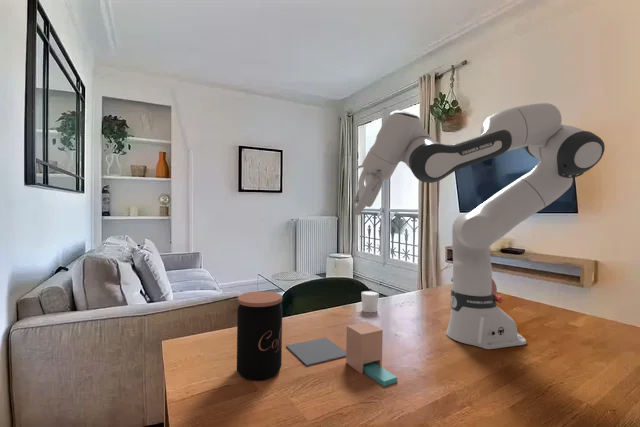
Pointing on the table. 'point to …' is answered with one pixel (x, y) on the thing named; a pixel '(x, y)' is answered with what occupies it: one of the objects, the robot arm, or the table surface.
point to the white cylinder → (369, 301)
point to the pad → (316, 351)
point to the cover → (363, 345)
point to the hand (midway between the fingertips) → (356, 207)
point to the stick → (379, 374)
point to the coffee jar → (259, 335)
